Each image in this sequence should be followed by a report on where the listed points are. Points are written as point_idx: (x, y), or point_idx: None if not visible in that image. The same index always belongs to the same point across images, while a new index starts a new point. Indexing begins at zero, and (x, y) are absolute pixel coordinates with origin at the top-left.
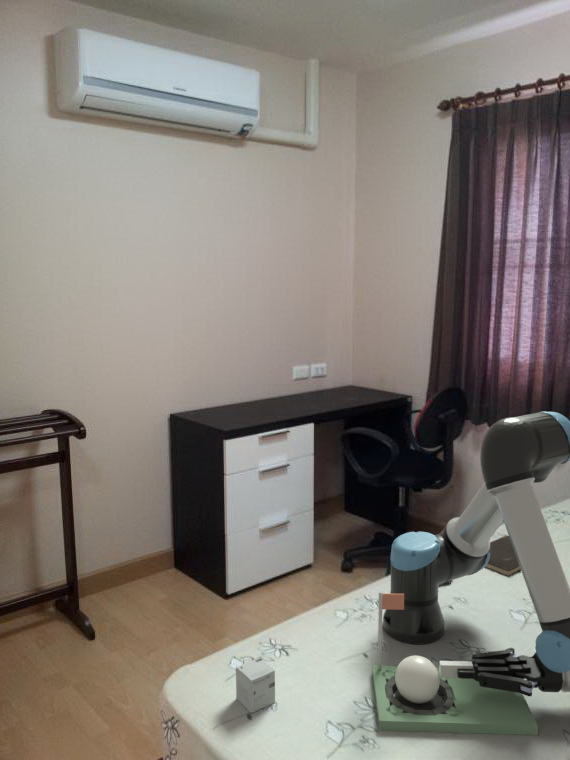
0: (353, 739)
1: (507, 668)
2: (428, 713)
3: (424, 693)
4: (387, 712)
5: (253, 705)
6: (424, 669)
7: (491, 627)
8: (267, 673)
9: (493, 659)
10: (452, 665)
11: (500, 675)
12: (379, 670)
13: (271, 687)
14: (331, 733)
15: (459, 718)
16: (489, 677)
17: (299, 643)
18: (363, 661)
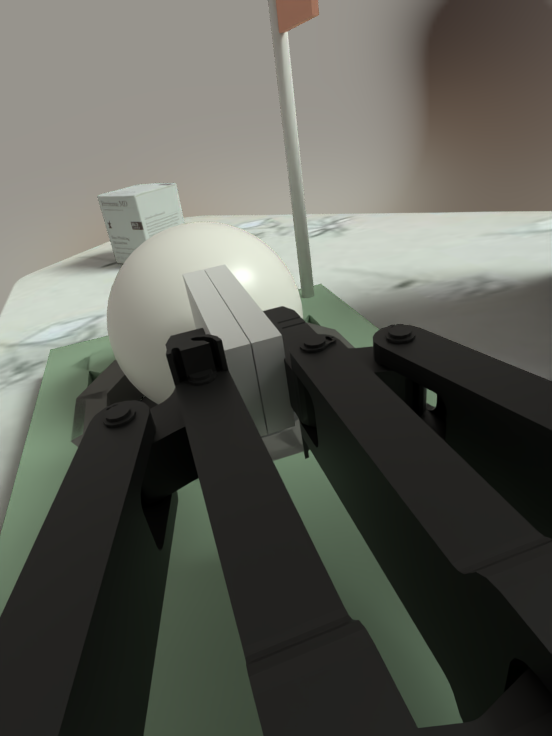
0: (30, 354)
1: (313, 627)
2: (83, 423)
3: (114, 354)
4: (90, 351)
5: (115, 249)
6: (138, 261)
7: None
8: (122, 195)
9: (440, 440)
10: (192, 295)
11: (99, 556)
12: (301, 296)
13: (136, 230)
14: (56, 328)
15: (39, 524)
16: (72, 470)
17: (363, 232)
18: (370, 289)
